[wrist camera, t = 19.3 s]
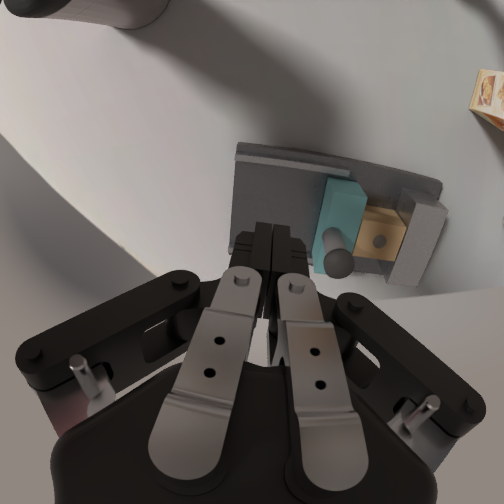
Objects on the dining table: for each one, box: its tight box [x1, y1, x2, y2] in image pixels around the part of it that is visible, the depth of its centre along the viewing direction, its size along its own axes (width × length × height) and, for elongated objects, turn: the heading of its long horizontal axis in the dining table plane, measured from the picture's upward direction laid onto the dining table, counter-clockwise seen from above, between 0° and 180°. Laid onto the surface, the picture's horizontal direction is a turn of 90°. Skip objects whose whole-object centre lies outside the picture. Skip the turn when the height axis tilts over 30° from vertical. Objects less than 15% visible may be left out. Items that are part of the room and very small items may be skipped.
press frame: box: [228, 142, 448, 287], centre depth 38 cm, size 28×16×6 cm, turn 84°
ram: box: [312, 177, 368, 279], centre depth 34 cm, size 5×11×11 cm, turn 174°
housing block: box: [352, 205, 407, 261], centre depth 37 cm, size 6×5×5 cm
